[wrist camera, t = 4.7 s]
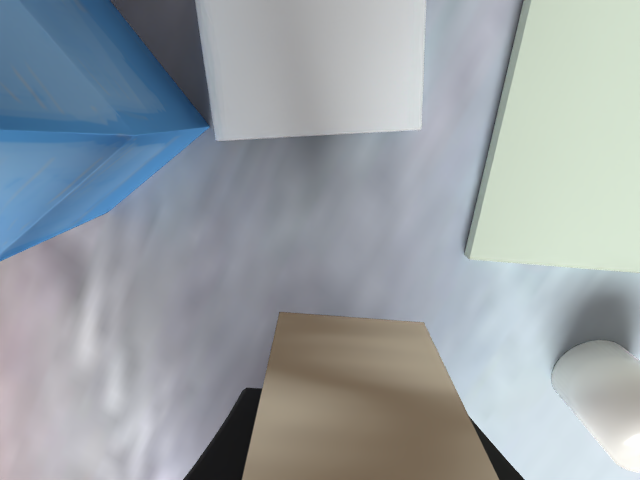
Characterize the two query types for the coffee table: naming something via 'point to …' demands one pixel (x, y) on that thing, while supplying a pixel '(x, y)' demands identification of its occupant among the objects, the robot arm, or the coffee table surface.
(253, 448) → the birch block
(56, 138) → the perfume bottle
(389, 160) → the coffee table surface
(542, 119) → the sage mat
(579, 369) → the ceramic cylinder
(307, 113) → the external hard drive
